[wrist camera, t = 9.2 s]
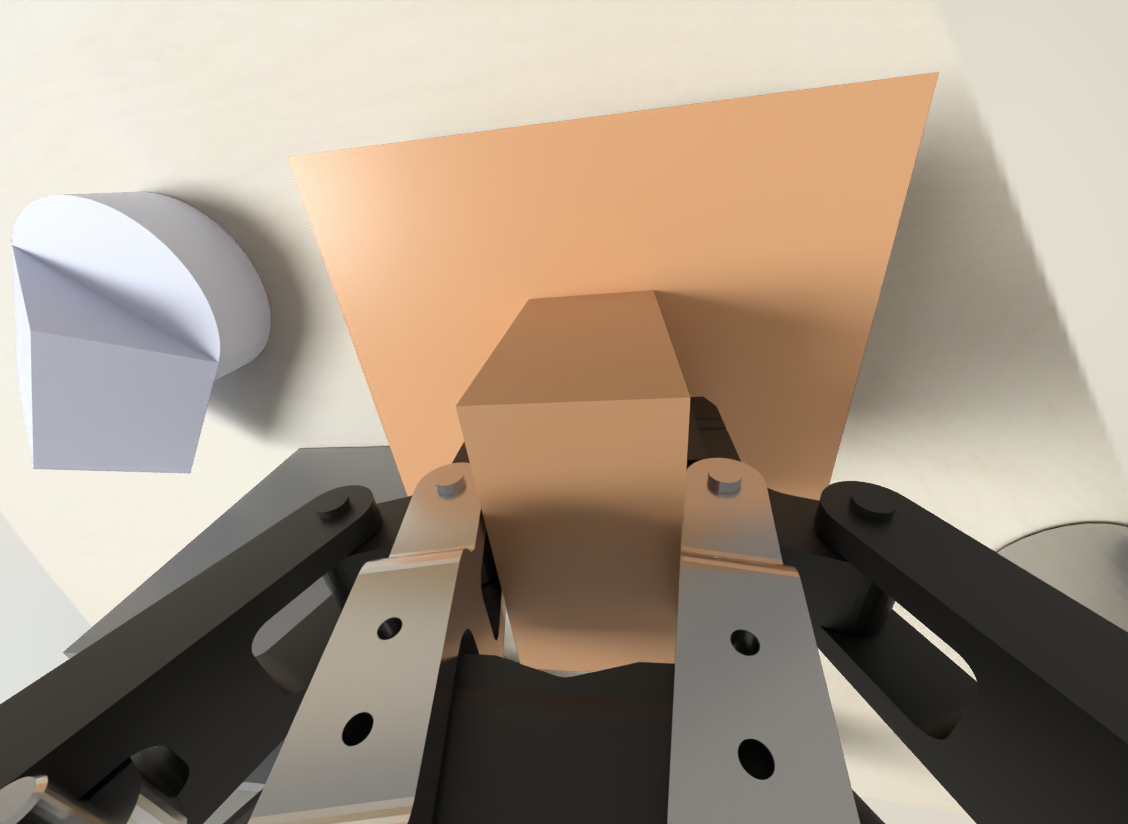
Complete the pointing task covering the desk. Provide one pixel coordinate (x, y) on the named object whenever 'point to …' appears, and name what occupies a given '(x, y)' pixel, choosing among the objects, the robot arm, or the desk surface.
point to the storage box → (246, 520)
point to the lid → (617, 323)
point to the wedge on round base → (127, 327)
